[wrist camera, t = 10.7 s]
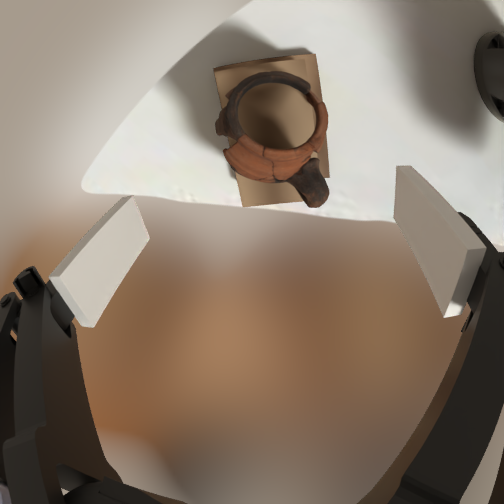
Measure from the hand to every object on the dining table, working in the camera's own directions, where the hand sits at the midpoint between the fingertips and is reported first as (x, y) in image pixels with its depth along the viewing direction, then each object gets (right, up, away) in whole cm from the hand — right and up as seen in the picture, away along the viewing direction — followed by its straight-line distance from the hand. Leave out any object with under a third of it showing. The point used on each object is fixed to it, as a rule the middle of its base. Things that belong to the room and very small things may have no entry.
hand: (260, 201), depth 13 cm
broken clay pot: (+2, +8, +11) cm, 14 cm away
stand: (+2, +14, +19) cm, 24 cm away
